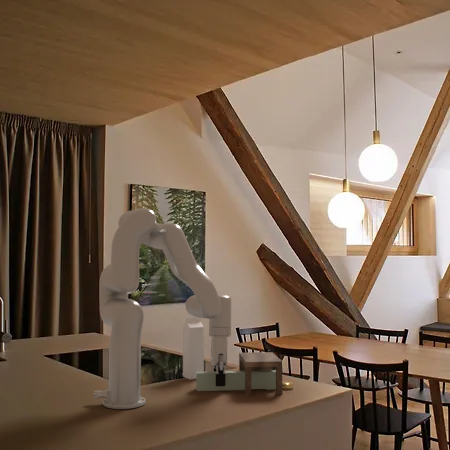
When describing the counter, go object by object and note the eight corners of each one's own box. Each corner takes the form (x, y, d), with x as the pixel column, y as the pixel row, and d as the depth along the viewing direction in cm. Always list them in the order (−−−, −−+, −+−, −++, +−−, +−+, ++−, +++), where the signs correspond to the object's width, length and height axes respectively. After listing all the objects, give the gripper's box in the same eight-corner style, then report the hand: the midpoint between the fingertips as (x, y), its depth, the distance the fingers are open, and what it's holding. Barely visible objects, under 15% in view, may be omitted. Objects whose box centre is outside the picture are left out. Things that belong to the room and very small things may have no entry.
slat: (196, 391, 176) (196, 373, 177) (196, 389, 179) (196, 371, 180) (279, 389, 179) (279, 371, 179) (277, 387, 182) (277, 370, 182)
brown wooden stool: (245, 395, 170) (245, 362, 171) (239, 382, 188) (239, 352, 189) (282, 394, 171) (282, 361, 172) (272, 382, 189) (272, 352, 190)
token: (280, 390, 178) (280, 385, 178) (277, 387, 183) (277, 381, 183) (294, 390, 178) (294, 384, 178) (291, 386, 183) (291, 381, 183)
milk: (182, 376, 199) (182, 317, 200) (197, 375, 202) (197, 316, 203) (189, 379, 193) (189, 319, 195) (204, 378, 196) (204, 318, 198)
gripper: (207, 328, 188) (206, 377, 187) (210, 334, 171) (209, 388, 169) (228, 328, 189) (227, 377, 187) (233, 334, 171) (233, 388, 170)
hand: (219, 382), depth 178 cm, fingers open, 9 cm apart
